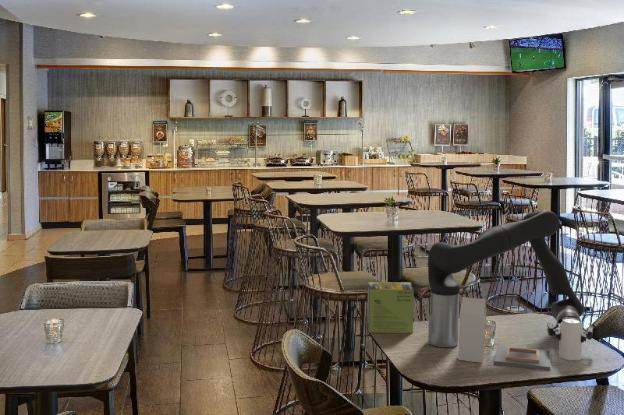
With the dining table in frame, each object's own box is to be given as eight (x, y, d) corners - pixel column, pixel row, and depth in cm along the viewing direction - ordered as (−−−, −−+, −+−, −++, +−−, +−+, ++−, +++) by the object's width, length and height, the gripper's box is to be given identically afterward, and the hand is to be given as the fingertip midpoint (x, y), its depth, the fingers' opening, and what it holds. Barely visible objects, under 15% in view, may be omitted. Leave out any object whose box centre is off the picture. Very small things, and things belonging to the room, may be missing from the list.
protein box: (413, 333, 238) (414, 289, 236) (368, 333, 238) (369, 289, 236) (409, 324, 249) (410, 281, 246) (366, 323, 249) (367, 281, 247)
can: (570, 362, 210) (572, 324, 209) (553, 356, 216) (556, 318, 214) (585, 359, 213) (587, 321, 212) (568, 352, 219) (570, 316, 217)
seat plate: (494, 364, 209) (494, 358, 209) (497, 348, 223) (497, 342, 223) (550, 370, 204) (550, 364, 204) (549, 353, 218) (549, 348, 218)
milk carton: (481, 363, 210) (484, 302, 207) (458, 360, 212) (460, 300, 210) (484, 355, 217) (486, 296, 214) (461, 352, 219) (463, 294, 216)
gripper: (546, 309, 229) (546, 324, 214) (593, 313, 225) (597, 328, 209) (545, 331, 231) (545, 347, 215) (591, 335, 226) (595, 352, 210)
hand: (570, 338), depth 212 cm, fingers closed on can, 6 cm apart
